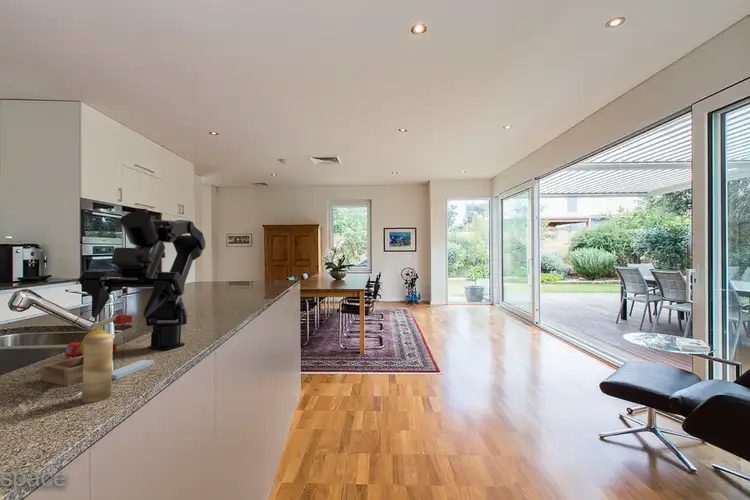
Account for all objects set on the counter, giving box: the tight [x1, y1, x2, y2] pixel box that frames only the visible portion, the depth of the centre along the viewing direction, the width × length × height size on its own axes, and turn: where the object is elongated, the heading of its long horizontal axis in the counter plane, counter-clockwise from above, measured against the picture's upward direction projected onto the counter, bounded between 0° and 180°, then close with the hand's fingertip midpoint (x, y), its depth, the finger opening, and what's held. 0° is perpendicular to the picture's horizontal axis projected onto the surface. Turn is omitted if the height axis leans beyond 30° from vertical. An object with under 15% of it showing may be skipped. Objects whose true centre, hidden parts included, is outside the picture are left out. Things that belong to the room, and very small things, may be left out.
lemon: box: [81, 329, 109, 355], centre depth 79 cm, size 6×6×8 cm
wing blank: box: [111, 359, 155, 380], centre depth 74 cm, size 10×3×1 cm, turn 173°
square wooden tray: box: [41, 355, 84, 387], centre depth 70 cm, size 8×8×3 cm
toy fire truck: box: [64, 313, 133, 360], centre depth 84 cm, size 3×14×10 cm, turn 162°
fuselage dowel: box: [81, 333, 114, 403], centre depth 61 cm, size 4×4×11 cm
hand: (119, 316), depth 68 cm, fingers open, 9 cm apart
